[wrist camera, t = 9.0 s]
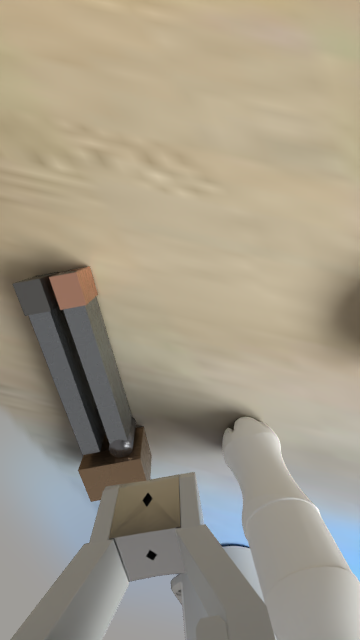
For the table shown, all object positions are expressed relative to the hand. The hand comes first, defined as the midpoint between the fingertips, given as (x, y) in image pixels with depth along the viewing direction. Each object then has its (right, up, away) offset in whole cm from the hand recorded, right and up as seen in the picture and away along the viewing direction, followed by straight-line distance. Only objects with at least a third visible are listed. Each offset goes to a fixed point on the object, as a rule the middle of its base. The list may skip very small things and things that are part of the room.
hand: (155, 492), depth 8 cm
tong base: (-9, -1, +22) cm, 23 cm away
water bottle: (+10, -9, +26) cm, 29 cm away
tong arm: (-8, +1, +21) cm, 22 cm away
